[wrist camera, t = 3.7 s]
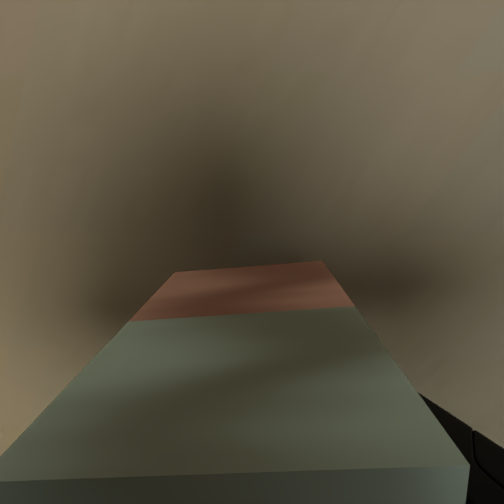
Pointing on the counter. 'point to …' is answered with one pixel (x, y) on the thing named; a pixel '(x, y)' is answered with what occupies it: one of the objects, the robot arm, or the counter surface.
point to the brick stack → (239, 406)
